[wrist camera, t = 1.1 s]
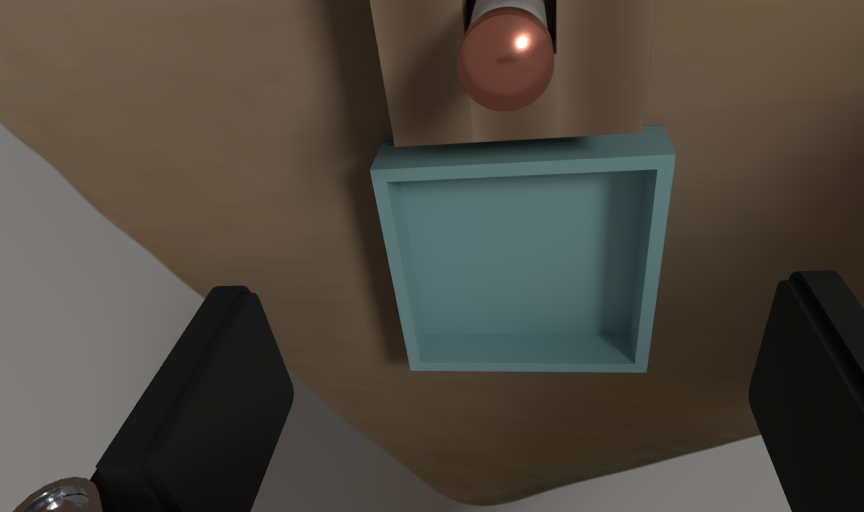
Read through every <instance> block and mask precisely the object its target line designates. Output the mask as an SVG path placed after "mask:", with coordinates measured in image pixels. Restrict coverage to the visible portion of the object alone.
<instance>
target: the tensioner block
mask: <svg viewBox="0 0 864 512" xmlns="http://www.w3.org/2000/svg"><path fill="white" fill-rule="evenodd" d="M475 2H476V0H370V5H371V11H372V17H373V23H374V29H375V34H376V40H377V46H378V52H379V58H380V63H381V69H382V75H383V81H384V87H385V93H386V98H387V104H388V110H389V116H390V122H391V128H392V133H393V139H394V145H395V147H403V146H420V145H437V144H455V143H472V142H490V141H507V140H524V139H542V138H559V137H576V136H594V135H611V134H628V133H643V127H644V116H645V106H646V95H647V85H648V75H649V64H650V54H651V43H652V33H653V23H654V12H655V2H656V0H544V5H545V13H546V21H547V29H548V32H549V34H550V37H551V40H552V45H553V53H554V71H553V75H552V78H551V81H550V83H549V85H548V87H547V88H546V90H545V91H544V93H543V94H542V95H541V96H540V97H539V98H538V99H537V100H536V101H534V102H533V103H532V104H530V105H528V106H526V107H524V108H522V109H519V110H515V111H508V112H501V111H494V110H490V109H488V108H485V107H483V106H481V105H479V104H478V103H477V102H475V101H474V100H473V99H472V98H471V97H470V96H469V95H468V94H467V93H466V91H465V89H464V88H463V86H462V84H461V81H460V78H459V73H458V57H459V53H460V49H461V45H462V42H463V39H464V36H465V34H466V32H467V30H468V28H469V26H470V22H471V18H472V14H473V10H474V6H475Z"/></svg>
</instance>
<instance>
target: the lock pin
mask: <svg viewBox="0 0 864 512" xmlns="http://www.w3.org/2000/svg"><path fill="white" fill-rule="evenodd" d="M553 71H554V53H553V45H552V40H551V37H550V34H549V32H548V29H547V21H546V13H545V5H544V0H476V2H475V6H474V10H473V14H472V18H471V22H470V26H469V28H468V30H467V32H466V34H465V36H464V39H463V42H462V45H461V49H460V53H459V57H458V73H459V78H460V81H461V84H462V86H463V88H464V89H465V91H466V93H467V94H468V95H469V96H470V97H471V98H472V99H473V100H474V101H475V102H477V103H478V104H479V105H481V106H483V107H485V108H488V109H490V110H494V111H501V112H508V111H515V110H519V109H522V108H524V107H526V106H528V105H530V104H532V103H533V102H534V101H536V100H537V99H538V98H539V97H540V96H541V95H542V94H543V93H544V91H545V90H546V88H547V87H548V85H549V83H550V81H551V78H552V75H553Z"/></svg>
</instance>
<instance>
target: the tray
mask: <svg viewBox="0 0 864 512" xmlns="http://www.w3.org/2000/svg"><path fill="white" fill-rule="evenodd" d="M675 157H676V154H675V151H674V149H673V147H672V145H671V143H670V141H669V138H668V136H667V134H666V132H665V130H664V128H663V126H648V127H643V133H628V134H611V135H594V136H576V137H559V138H542V139H524V140H507V141H490V142H472V143H455V144H437V145H420V146H403V147H395V145H394V142H382V143H381V146H380V148H379V150H378V152H377V155H376V157H375V159H374V162H373V164H372V166H371V169H370V173H371V178H372V183H373V188H374V193H375V198H376V203H377V207H378V212H379V217H380V222H381V227H382V232H383V237H384V242H385V247H386V252H387V257H388V261H389V266H390V271H391V276H392V281H393V286H394V291H395V296H396V301H397V306H398V311H399V315H400V320H401V325H402V330H403V335H404V340H405V345H406V350H407V355H408V360H409V365H410V369H411V371H516V372H632V373H647V366H648V358H649V351H650V343H651V336H652V328H653V321H654V314H655V306H656V299H657V291H658V284H659V276H660V269H661V261H662V254H663V247H664V239H665V232H666V224H667V217H668V209H669V202H670V194H671V187H672V180H673V172H674V165H675Z"/></svg>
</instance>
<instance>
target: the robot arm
mask: <svg viewBox="0 0 864 512" xmlns="http://www.w3.org/2000/svg"><path fill="white" fill-rule="evenodd" d="M293 397H294V391H293V385H292V382H291V380H290V377H289V374H288V372H287V369H286V367H285V364H284V362H283V359H282V356H281V354H280V351H279V349H278V346H277V343H276V341H275V338H274V336H273V333H272V331H271V328H270V325H269V323H268V320H267V318H266V315H265V313H264V310H263V307H262V305H261V302H260V300H259V297H258V296H257V295H256V294H255V293H251V292H250V291H249V289H248V288H247V287H246V286H217V287H214V288H213V289H212V290H211V291H210V293H209V294H208V296H207V297H206V299H205V300H204V302H203V303H202V305H201V307H200V308H199V309H198V311H197V313H196V314H195V316H194V317H193V319H192V320H191V322H190V323H189V325H188V326H187V328H186V330H185V331H184V332H183V334H182V335H181V337H180V338H179V340H178V341H177V343H176V345H175V346H174V348H173V349H172V351H171V352H170V354H169V355H168V357H167V358H166V360H165V361H164V363H163V364H162V366H161V367H160V369H159V371H158V372H157V373H156V375H155V377H154V378H153V380H152V381H151V383H150V384H149V386H148V387H147V389H146V390H145V392H144V393H143V395H142V396H141V398H140V400H139V401H138V402H137V404H136V406H135V407H134V409H133V410H132V412H131V413H130V415H129V416H128V418H127V419H126V421H125V422H124V424H123V425H122V427H121V429H120V430H119V431H118V433H117V435H116V436H115V438H114V439H113V441H112V442H111V444H110V445H109V447H108V448H107V450H106V451H105V453H104V454H103V456H102V458H101V459H100V460H99V462H98V464H97V465H96V468H97V470H96V471H95V473H94V474H93V476H92V477H91V479H90V480H88V479H86V478H79V477H71V478H65V479H60V480H58V481H55V482H53V483H50V484H48V485H46V486H44V487H42V488H41V489H39V490H38V491H36V492H34V493H33V494H31V495H30V496H29V497H28V498H26V500H24V501H23V502H22V503H21V504H20V505H19V506H17V508H16V509H15V510H14V511H13V512H250V511H251V509H252V506H253V503H254V501H255V498H256V496H257V493H258V491H259V488H260V486H261V483H262V480H263V478H264V475H265V472H266V470H267V467H268V465H269V462H270V460H271V457H272V455H273V452H274V449H275V447H276V444H277V442H278V439H279V436H280V434H281V431H282V429H283V426H284V424H285V421H286V419H287V416H288V413H289V411H290V408H291V405H292V402H293ZM749 402H750V407H751V410H752V413H753V415H754V418H755V420H756V423H757V425H758V428H759V430H760V433H761V435H762V438H763V440H764V443H765V445H766V447H767V450H768V453H769V455H770V458H771V460H772V463H773V465H774V468H775V470H776V473H777V475H778V478H779V481H780V483H781V486H782V488H783V491H784V493H785V496H786V498H787V501H788V503H789V506H790V508H791V511H792V512H864V309H863V308H862V306H861V305H860V304H859V302H858V301H857V299H856V298H855V297H854V295H853V294H852V292H851V291H850V290H849V288H848V287H847V285H846V284H845V283H844V281H843V280H842V278H841V277H840V276H839V275H838V274H837V273H836V272H834V271H796V272H793V273H792V274H791V276H790V278H789V280H783V281H780V282H779V284H778V286H777V289H776V293H775V297H774V300H773V304H772V307H771V311H770V315H769V318H768V322H767V325H766V329H765V333H764V336H763V340H762V343H761V347H760V351H759V354H758V358H757V361H756V365H755V369H754V372H753V376H752V379H751V383H750V387H749Z"/></svg>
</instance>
